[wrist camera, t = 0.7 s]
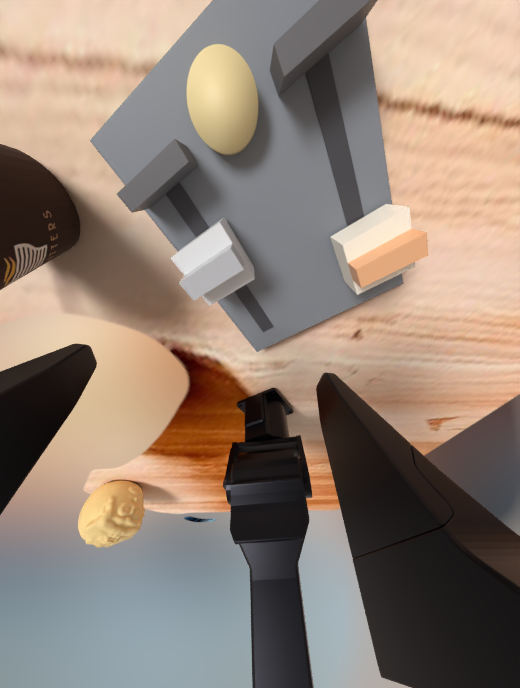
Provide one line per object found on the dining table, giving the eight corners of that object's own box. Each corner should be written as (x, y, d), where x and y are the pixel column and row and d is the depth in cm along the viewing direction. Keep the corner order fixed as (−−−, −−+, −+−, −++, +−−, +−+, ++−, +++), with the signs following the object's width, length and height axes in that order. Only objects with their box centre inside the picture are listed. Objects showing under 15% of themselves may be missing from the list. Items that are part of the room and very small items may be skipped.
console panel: (393, 277, 19) (421, 295, 16) (256, 343, 23) (257, 368, 20) (330, -103, 9) (375, -271, 5) (104, 144, 13) (57, 131, 10)
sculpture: (160, 488, 51) (142, 548, 42) (123, 495, 53) (98, 553, 45) (126, 472, 44) (96, 540, 36) (85, 481, 47) (48, 547, 38)
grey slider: (254, 267, 16) (254, 287, 13) (214, 291, 17) (206, 315, 14) (224, 217, 14) (216, 225, 11) (181, 248, 15) (162, 265, 12)
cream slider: (394, 256, 16) (429, 273, 13) (344, 281, 17) (365, 303, 14) (385, 203, 14) (425, 208, 11) (329, 236, 15) (350, 250, 12)
